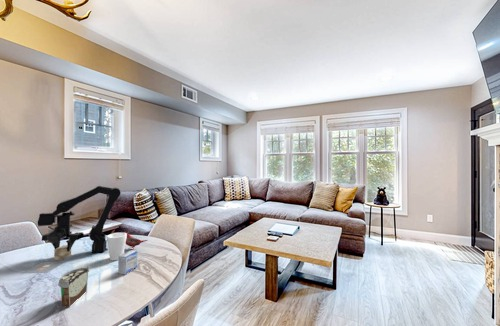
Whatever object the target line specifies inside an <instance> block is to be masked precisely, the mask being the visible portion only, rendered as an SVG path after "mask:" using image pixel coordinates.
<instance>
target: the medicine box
mask: <svg viewBox="0 0 500 326" xmlns="http://www.w3.org/2000/svg"><path fill="white" fill-rule="evenodd" d="M117 264H118V269H117V272H118V273H119V274H118V273H117V274H118V275H125V274H126V275H128V274H129V273H131V272H132V271H134V270H135V269H137V268H138V251H137V250H134V249H130V250H129V251H126V252H124V254H122V255H120V256H119V257H118V260H117ZM136 267H137V268H136ZM134 268H135V269H134ZM133 269H134V270H133ZM131 270H132V271H131ZM130 271H131V272H130ZM128 272H129V273H128ZM127 273H128V274H127Z"/></svg>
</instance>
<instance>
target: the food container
mask: <svg viewBox="0 0 500 326" xmlns="http://www.w3.org/2000/svg"><path fill="white" fill-rule="evenodd" d="M89 272H90V269H89V266H88V267H87V266H85V267H79V268H75V269H72V270H69V271H67V272H66V273H64V274H63V275H61V276H60V278H59V280H58V284H57V285H58V286H59V288H60V295H61V305H62V306H63V307H64V306H66V307H65V308H71V307H72V306H73V305H74V304H75V303H76V302H77V301H78V300H77V299H79V298H80V297H81V296H82V295H83V294H84V293H85V292H86V293H87V292H88V290H87V289H88V278H89ZM86 293H85V294H86ZM85 294H84V295H85ZM84 295H83V296H84ZM83 296H82V297H83ZM82 297H81V298H82ZM81 298H80V299H81ZM80 299H79V300H80ZM76 300H77V301H76ZM75 301H76V302H75ZM74 302H75V303H74ZM73 303H74V304H73ZM72 304H73V305H72ZM71 305H72V306H71ZM70 306H71V307H70Z"/></svg>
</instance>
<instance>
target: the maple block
mask: <svg viewBox="0 0 500 326" xmlns="http://www.w3.org/2000/svg"><path fill="white" fill-rule="evenodd" d="M53 254H54V255H53V259H54V261H55V260H57V261H58V260H59V261H60V260H63V261H64V260H65V259H67V258H68V257H70V256H72V248H71V249H70V251H69V252H68V251H67V245H60V247H59V248H56V249H55V248H54V253H53Z"/></svg>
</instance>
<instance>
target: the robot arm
mask: <svg viewBox="0 0 500 326" xmlns="http://www.w3.org/2000/svg"><path fill="white" fill-rule="evenodd" d="M97 194H102V195H106V196H108V197H107V201H106V204H105V205H104V208H103V210H102V212H101V214H100V216H99V219H98V221H97V222H96V225H94V224H93V225H92V227H91V230H89V233H88V235H89V240H91V241H92V244H91V252H90V254H103V253H105V252H106V251H109V248H108V247H107V244H108V241H107V235H106V234H104V233H103V230H104V226H105V224H106V221H107V219H108V217H109V215H110V213H111V211H112V208H113V207H114V204H115V203H116V202H117V200H118V199H119V197H120V195H121V190H120V188H118V187H106V186H102V185H97V186H96V187H94V188H92V189H90V190H88V191H85V192H84V193H82V194H80V195H77V196H76V197H73V198H70V199H65V200H63V201H61V202H59V203H58V204H57V205H56V209H55V210H53V212H45V213H44V212H42V213H39V216H38V220H37V227H46V226H53V225H54V224H56V226H55V227H54V229H53V231H51V232H48V233H46V234H42V237H41V241H45V242H47V243H50V244H52V247H53V248H54V249H56V248H59V247H61V240H62V239H68V240H65V243H67V251H68V252H69V251H70V249H71V250H72V247H73V246H74V244H75V242H76V241H78V240H81V239H83V238H84V236H85V234H84V232H74V233H72V232H73V231H72V230H71V227H72V226H73V224H72V223H71V216H74V215H75V214H76V213H75V212H73V211H72V210H71V209H73V208H74V207H76V206H77V205H78V204H80V203H82V202H84V201H86V200H88V199H90V198H92V197H94V196H95V195H97Z"/></svg>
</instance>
